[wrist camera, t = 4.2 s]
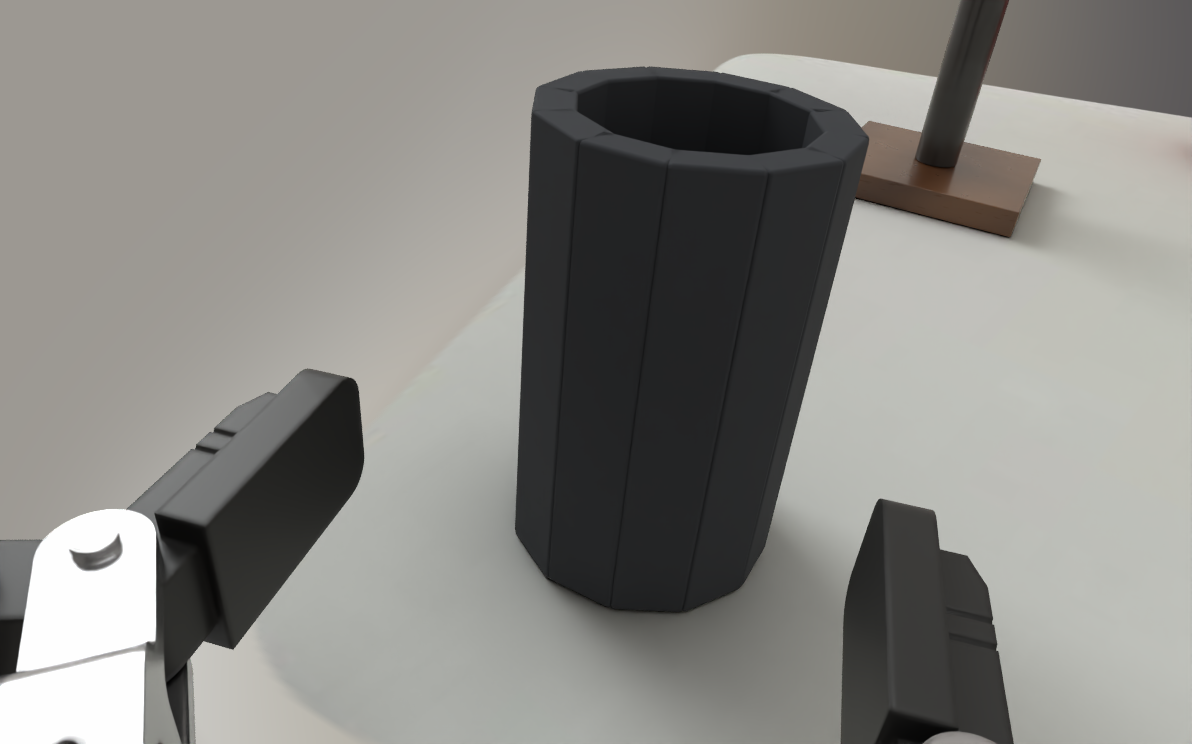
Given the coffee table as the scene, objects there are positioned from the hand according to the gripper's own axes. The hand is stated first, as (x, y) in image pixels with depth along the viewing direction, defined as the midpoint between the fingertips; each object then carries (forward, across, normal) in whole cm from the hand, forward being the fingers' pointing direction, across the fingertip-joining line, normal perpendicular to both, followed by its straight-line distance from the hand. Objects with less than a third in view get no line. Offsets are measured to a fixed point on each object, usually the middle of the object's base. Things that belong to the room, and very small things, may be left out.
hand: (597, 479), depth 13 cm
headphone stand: (+35, -9, +6) cm, 36 cm away
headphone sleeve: (+6, 0, +6) cm, 8 cm away
